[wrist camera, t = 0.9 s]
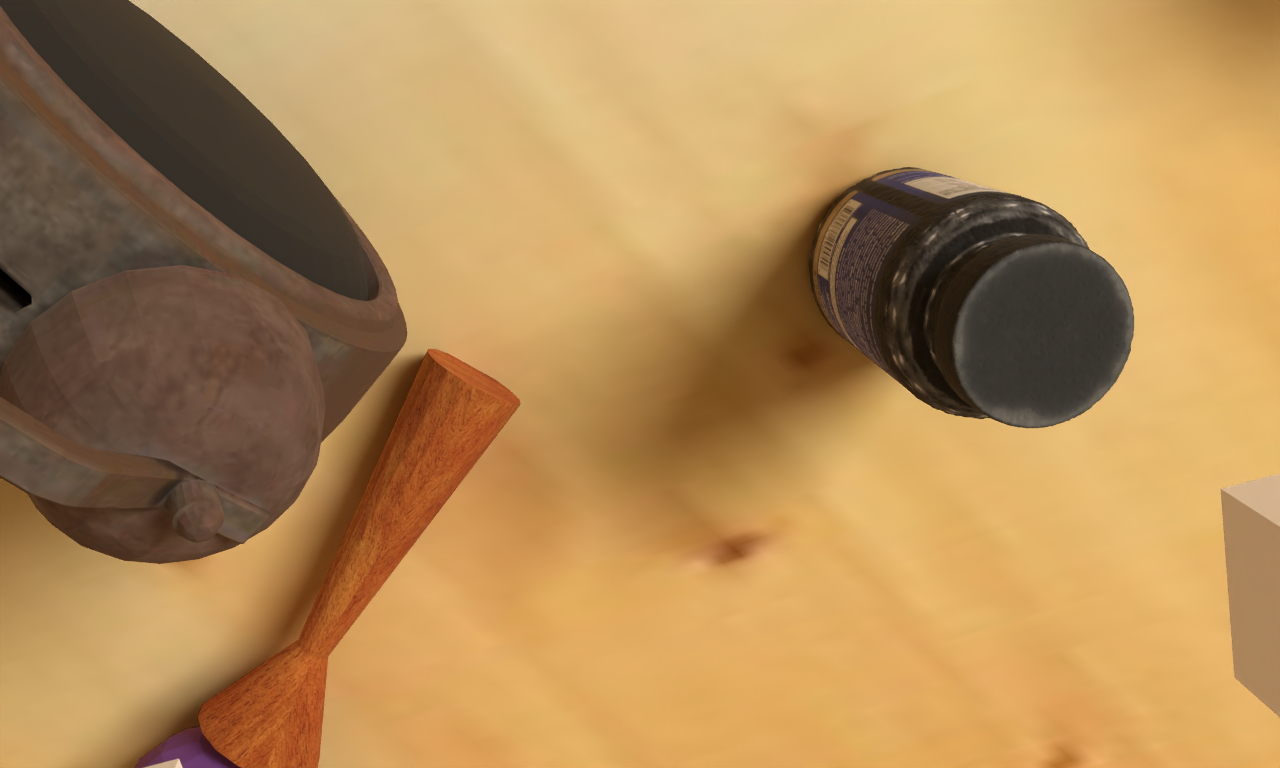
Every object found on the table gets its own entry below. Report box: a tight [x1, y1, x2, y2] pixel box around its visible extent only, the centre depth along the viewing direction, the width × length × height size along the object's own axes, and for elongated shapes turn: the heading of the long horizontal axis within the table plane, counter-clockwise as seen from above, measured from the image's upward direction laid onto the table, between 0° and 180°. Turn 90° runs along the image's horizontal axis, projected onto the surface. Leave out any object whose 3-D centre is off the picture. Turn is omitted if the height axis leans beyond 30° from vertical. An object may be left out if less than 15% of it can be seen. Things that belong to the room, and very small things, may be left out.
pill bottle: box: [809, 167, 1134, 428], centre depth 34 cm, size 6×6×11 cm
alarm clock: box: [0, 0, 407, 564], centre depth 26 cm, size 14×7×20 cm, turn 44°
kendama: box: [135, 349, 520, 768], centre depth 38 cm, size 6×6×20 cm
